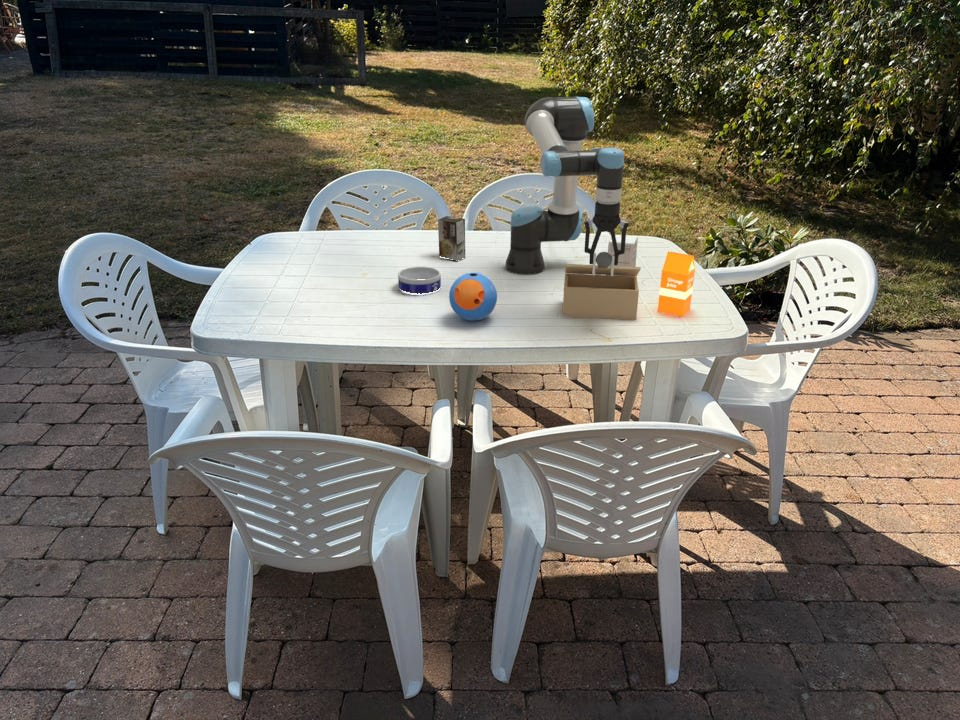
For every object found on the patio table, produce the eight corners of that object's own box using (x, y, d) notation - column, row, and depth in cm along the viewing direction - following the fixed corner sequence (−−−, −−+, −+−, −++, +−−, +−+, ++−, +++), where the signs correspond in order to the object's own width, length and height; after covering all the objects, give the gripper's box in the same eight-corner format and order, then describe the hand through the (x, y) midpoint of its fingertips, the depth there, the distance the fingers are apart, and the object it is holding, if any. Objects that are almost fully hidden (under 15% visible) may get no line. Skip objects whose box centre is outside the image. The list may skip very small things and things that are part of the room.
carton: (562, 316, 255) (563, 287, 251) (563, 300, 268) (565, 273, 263) (636, 319, 252) (638, 290, 248) (634, 304, 265) (636, 276, 261)
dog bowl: (417, 278, 289) (416, 263, 286) (449, 287, 281) (449, 271, 278) (389, 290, 278) (389, 274, 275) (423, 299, 270) (422, 283, 267)
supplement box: (635, 280, 287) (639, 236, 280) (631, 288, 279) (635, 243, 272) (609, 277, 290) (612, 234, 282) (604, 285, 282) (608, 241, 275)
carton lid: (564, 264, 240) (565, 248, 240) (565, 276, 263) (565, 261, 264) (643, 268, 237) (644, 251, 238) (636, 279, 261) (637, 264, 261)
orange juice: (682, 316, 255) (689, 258, 246) (657, 311, 259) (663, 254, 250) (690, 309, 261) (697, 252, 252) (665, 304, 265) (671, 248, 256)
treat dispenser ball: (500, 312, 258) (501, 268, 252) (491, 329, 245) (491, 284, 238) (456, 308, 262) (455, 265, 255) (444, 325, 248) (443, 280, 241)
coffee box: (466, 258, 311) (465, 218, 304) (457, 262, 306) (456, 222, 299) (447, 254, 315) (446, 215, 308) (438, 258, 310) (437, 219, 304)
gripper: (577, 203, 232) (573, 277, 242) (638, 205, 230) (632, 279, 240) (578, 197, 238) (574, 269, 248) (637, 199, 236) (631, 271, 246)
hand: (602, 274), depth 244 cm, fingers closed on carton lid, 5 cm apart
